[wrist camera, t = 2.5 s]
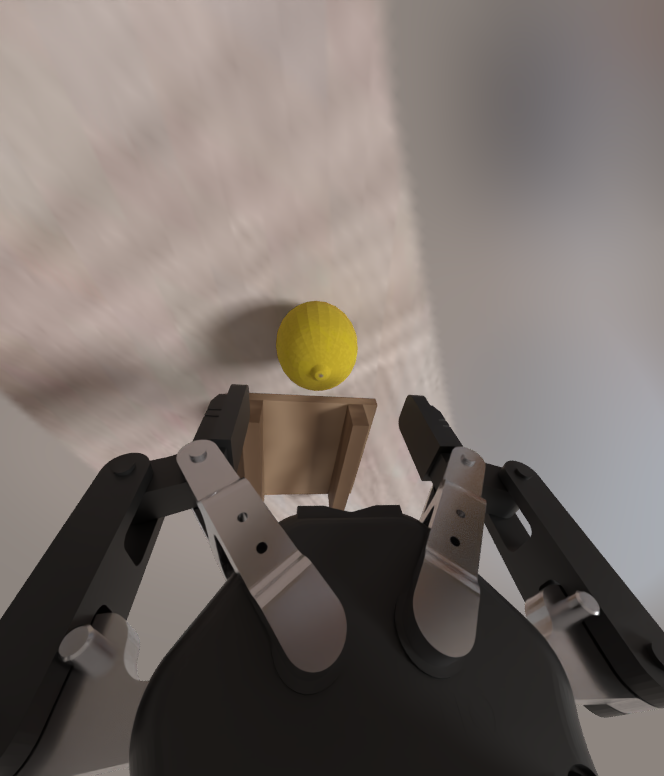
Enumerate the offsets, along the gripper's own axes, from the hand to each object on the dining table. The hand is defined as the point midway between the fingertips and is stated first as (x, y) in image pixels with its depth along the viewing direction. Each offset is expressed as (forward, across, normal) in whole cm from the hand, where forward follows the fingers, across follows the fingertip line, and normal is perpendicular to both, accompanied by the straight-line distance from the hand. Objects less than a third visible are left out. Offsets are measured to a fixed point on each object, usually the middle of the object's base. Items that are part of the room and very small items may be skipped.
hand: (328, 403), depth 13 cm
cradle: (+10, 0, +15) cm, 18 cm away
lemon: (+10, 0, 0) cm, 11 cm away
